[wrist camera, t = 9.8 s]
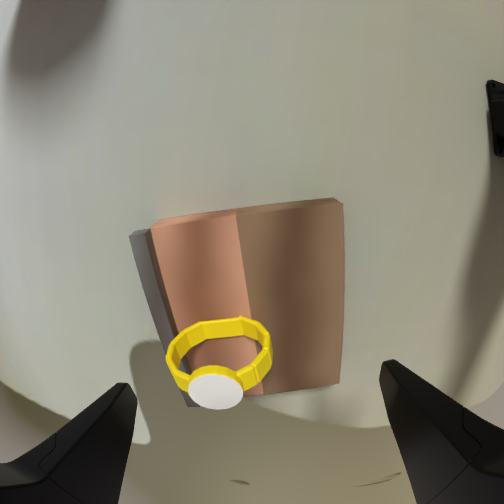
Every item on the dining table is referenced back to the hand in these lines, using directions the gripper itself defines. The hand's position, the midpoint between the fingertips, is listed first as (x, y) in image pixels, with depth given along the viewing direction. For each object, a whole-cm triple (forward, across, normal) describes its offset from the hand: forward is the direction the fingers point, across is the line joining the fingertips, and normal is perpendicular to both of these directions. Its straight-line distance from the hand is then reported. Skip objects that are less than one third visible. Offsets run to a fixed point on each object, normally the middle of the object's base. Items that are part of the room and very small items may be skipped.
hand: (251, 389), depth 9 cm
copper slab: (+11, +1, +3) cm, 11 cm away
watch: (+9, +2, +3) cm, 10 cm away
